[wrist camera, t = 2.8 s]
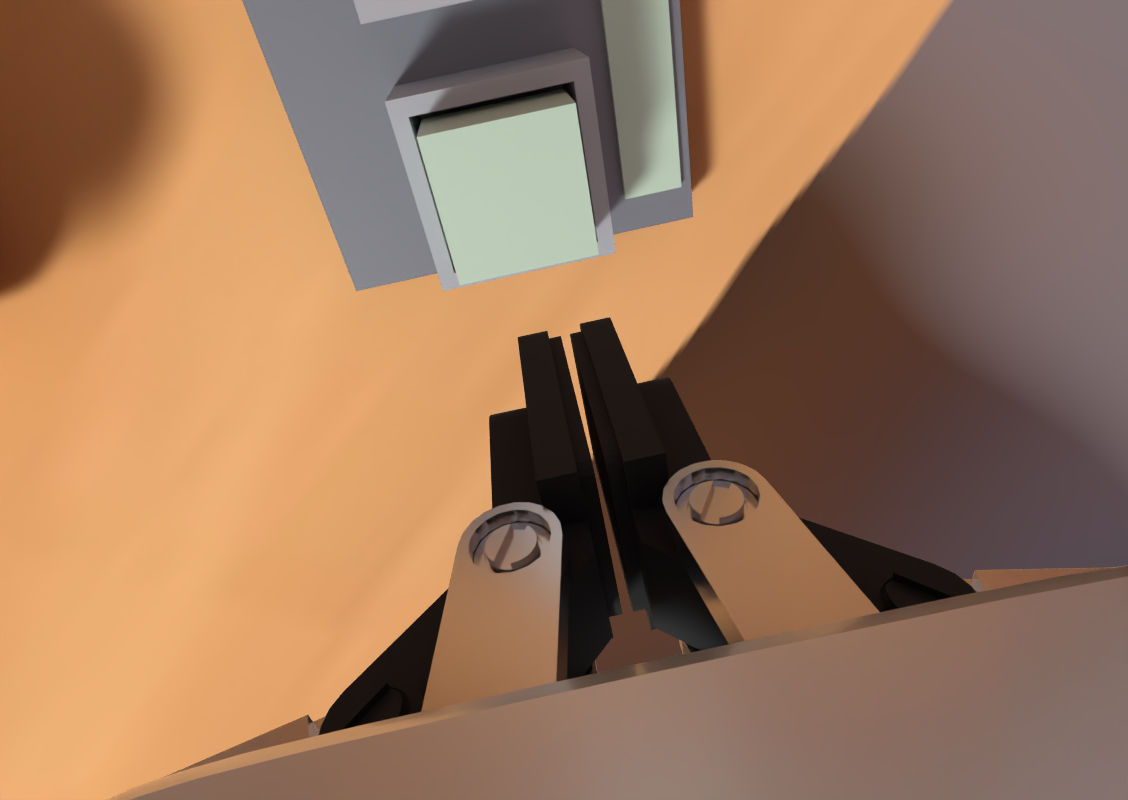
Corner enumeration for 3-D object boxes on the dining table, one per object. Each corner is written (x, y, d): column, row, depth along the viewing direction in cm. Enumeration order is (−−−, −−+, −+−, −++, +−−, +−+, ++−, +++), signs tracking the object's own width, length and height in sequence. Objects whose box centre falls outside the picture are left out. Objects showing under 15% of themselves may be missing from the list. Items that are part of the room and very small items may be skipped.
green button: (421, 119, 22) (416, 137, 20) (563, 88, 22) (575, 102, 20) (460, 254, 25) (459, 285, 22) (585, 227, 25) (598, 254, 23)
